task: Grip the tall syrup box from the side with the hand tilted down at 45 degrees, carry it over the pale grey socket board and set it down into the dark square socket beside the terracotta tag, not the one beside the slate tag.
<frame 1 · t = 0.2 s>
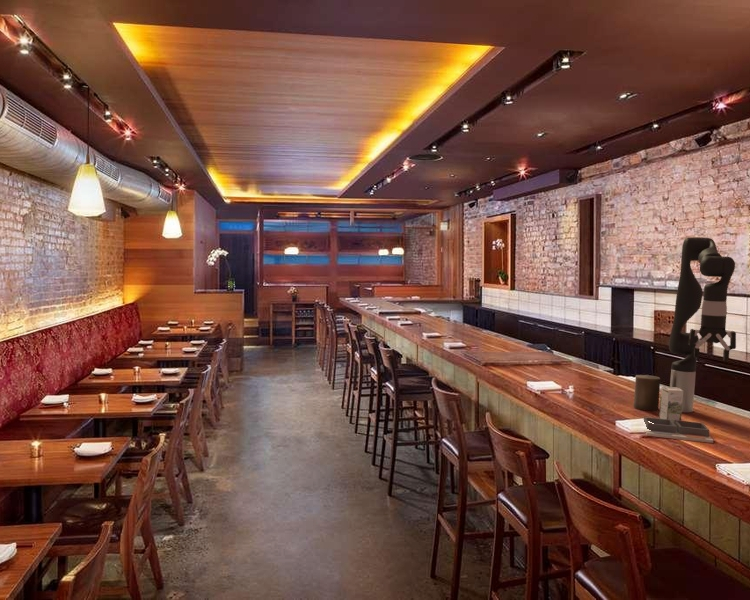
hand: (710, 359, 205), 29 cm above the table, tool pointing down, fingers open, 8 cm apart
socket board: (675, 433, 214), on the table
pillar candle: (645, 408, 251), on the table
syrup box: (669, 425, 226), on the table
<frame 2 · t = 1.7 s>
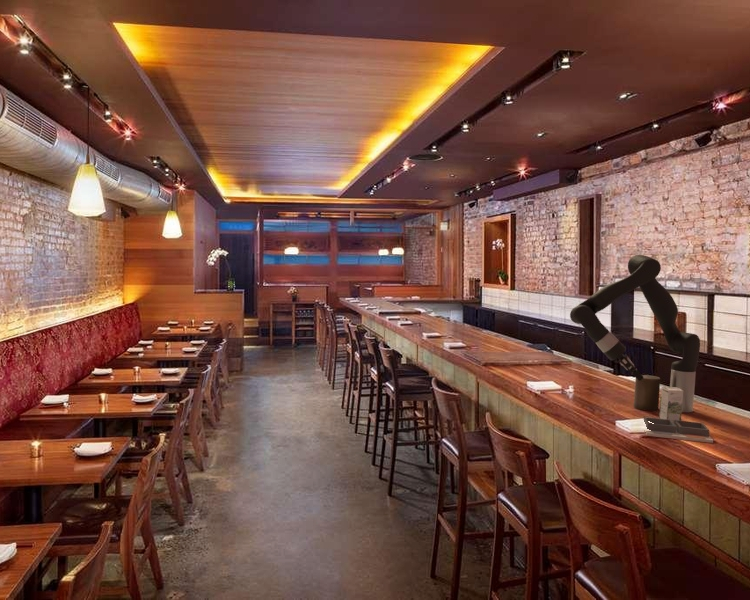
hand: (640, 377, 228), 18 cm above the table, tool tilted 45°, fingers open, 8 cm apart
nothing on the table moved.
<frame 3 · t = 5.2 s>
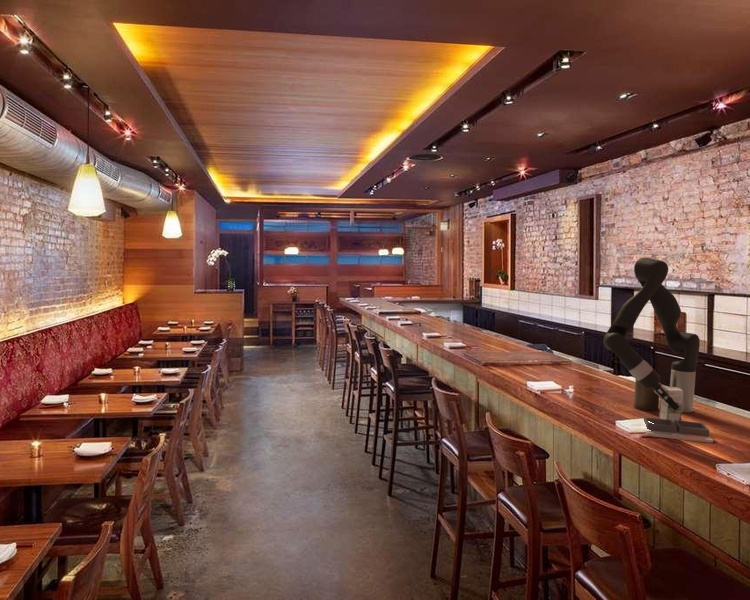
hand: (675, 406, 225), 7 cm above the table, tool tilted 45°, fingers closed on syrup box, 7 cm apart
syrup box: (669, 425, 226), on the table, touching gripper
everything else where it was.
when the fingers open (10 cm above the table, at t = 11.1 s): syrup box drops 1 cm, resting on socket board.
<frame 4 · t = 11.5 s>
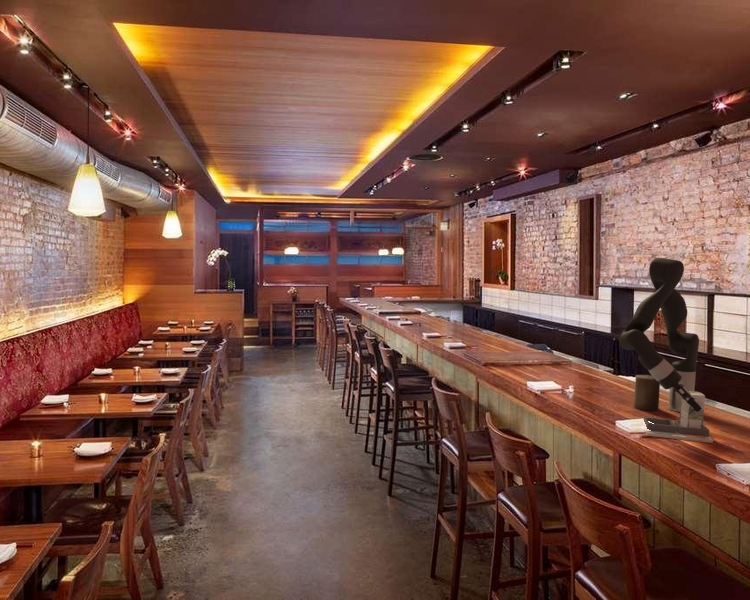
hand: (696, 407, 213), 10 cm above the table, tool tilted 45°, fingers open, 8 cm apart
syrup box: (690, 432, 214), point 1 cm above the table, touching socket board
everything else where it was.
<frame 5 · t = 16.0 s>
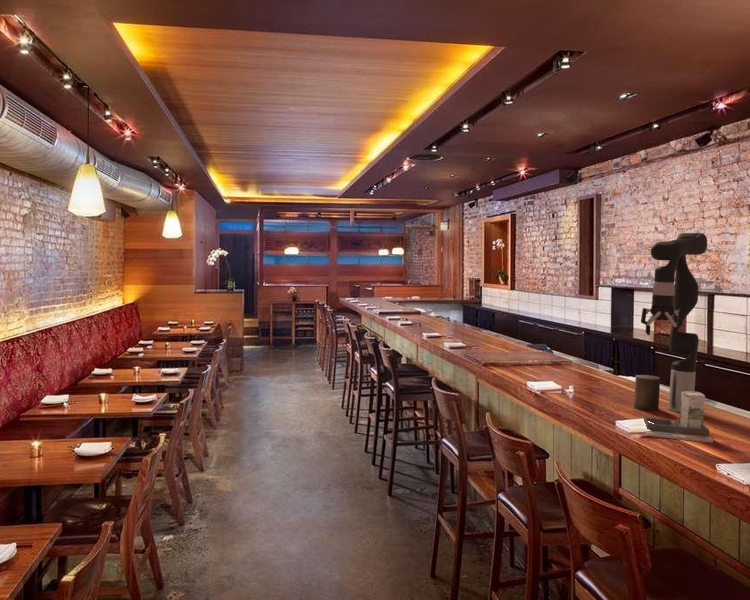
hand: (660, 335, 227), 34 cm above the table, tool pointing down, fingers open, 8 cm apart
nothing on the table moved.
at the end: syrup box 0.4 cm from the target spot on the socket board, point 0.8 cm above the socket board's base; syrup box tilted 0°; the gripper is holding nothing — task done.
